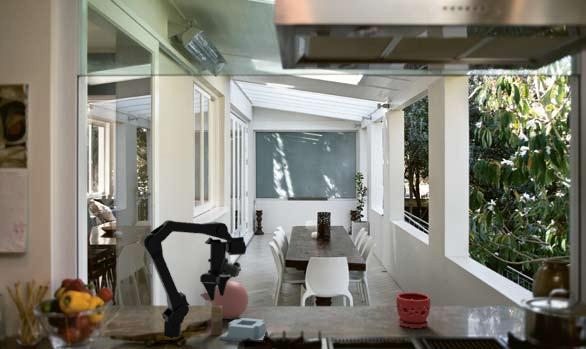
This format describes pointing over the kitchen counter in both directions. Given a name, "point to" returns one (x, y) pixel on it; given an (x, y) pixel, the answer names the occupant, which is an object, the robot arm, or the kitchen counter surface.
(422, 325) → the plant pot
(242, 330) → the socket block
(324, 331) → the kitchen counter surface
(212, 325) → the walnut peg
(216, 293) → the balloon
